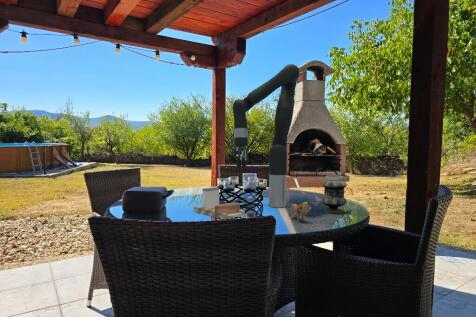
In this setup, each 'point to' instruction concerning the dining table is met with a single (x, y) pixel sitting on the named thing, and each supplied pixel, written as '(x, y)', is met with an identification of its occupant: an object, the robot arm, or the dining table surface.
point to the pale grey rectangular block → (210, 197)
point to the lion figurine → (299, 210)
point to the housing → (222, 211)
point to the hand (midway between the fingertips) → (241, 167)
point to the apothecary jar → (334, 193)
